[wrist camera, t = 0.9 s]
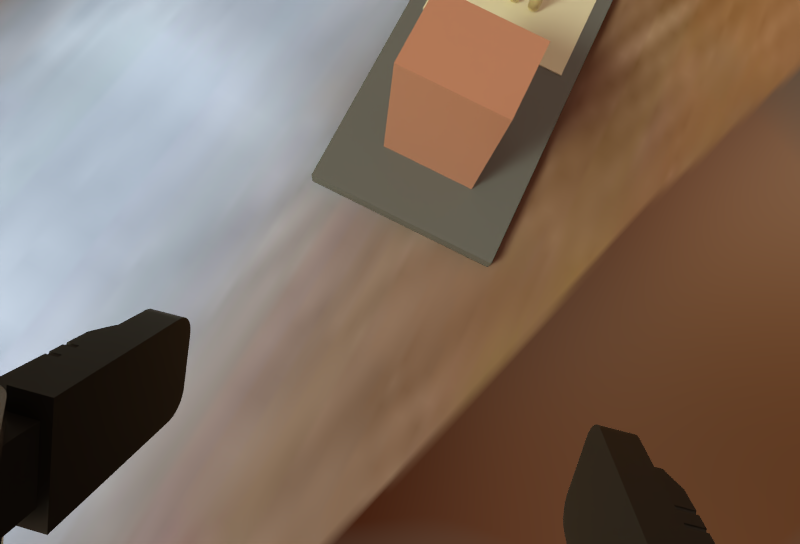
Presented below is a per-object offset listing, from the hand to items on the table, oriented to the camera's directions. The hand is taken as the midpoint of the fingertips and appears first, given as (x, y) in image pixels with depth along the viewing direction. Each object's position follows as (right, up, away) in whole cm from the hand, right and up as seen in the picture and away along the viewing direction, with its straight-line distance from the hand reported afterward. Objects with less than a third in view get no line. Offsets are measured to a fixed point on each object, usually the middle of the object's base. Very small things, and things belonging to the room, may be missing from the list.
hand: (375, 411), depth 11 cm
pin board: (+5, +15, +26) cm, 31 cm away
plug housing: (+3, +11, +24) cm, 26 cm away
